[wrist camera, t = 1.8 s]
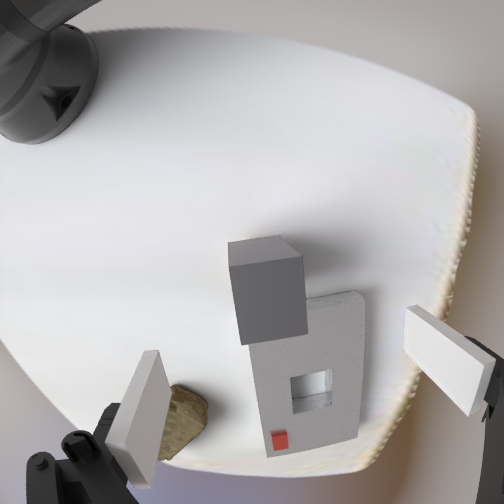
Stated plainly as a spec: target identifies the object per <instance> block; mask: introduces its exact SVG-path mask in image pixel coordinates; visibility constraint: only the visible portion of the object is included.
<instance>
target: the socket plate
mask: <svg viewBox="0 0 504 504" xmlns="http://www.w3.org/2000/svg"><path fill="white" fill-rule="evenodd" d="M306 307H307V322H308V334H306V335H301V336H296V337H290V338H284V339H279V340H273V341H267V342H260V343H254V344H248V345H249V351H250V357H251V364H252V370H253V376H254V382H255V388H256V394H257V400H258V406H259V412H260V418H261V424H262V430H263V436H264V442H265V447H266V453H267V458H268V457H274V456H280V455H286V454H291V453H296V452H301V451H306V450H311V449H315V448H320V447H324V446H328V445H332V444H336V443H339V442H343V441H347V440H350V439H354V438H357V436H358V428H359V419H360V409H361V398H362V386H363V371H364V352H365V316H366V299H365V298H364V297H362V296H361V295H360V294H359V293H358V292H356V291H355V290H354V291H349V292H344V293H339V294H333V295H328V296H322V297H317V298H311V299H306ZM320 371H325V377H326V392H325V393H321V394H316V395H312V396H307V397H302V398H297V399H292V395H291V383H290V377H296V376H301V375H306V374H311V373H315V372H320Z"/></svg>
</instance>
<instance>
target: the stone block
mask: <svg viewBox="0 0 504 504" xmlns="http://www.w3.org/2000/svg"><path fill="white" fill-rule="evenodd" d="M170 389H171V392H172V394H171V399H170V403H169V407H168V412H167V416H166V421H165V425H164V430H163V434H162V439H161V444H160V448H159V453H158V458H157V460H159V461H161V460H165V459H167V460H171V459H172V458H173V457H174V456H175V455H176V454H177V453H178V452H180V451H181V450H182V449H183V448H184V447H185V446H186V445H187V444H188V443H189V442H190V441H192V440H193V439H194V438H196V437H197V436H198V435H199V434H200V432H201V431H202V430H204V429H205V426H206V425H207V409H208V405H207V403H206V402H205V401H204V400H203V399H202V398H201V397H200V396H199V395H197V394H195V393H193V392H191V391H186V390H184V389H182V388H180V387H179V386H178V385H173V386H171V387H170Z"/></svg>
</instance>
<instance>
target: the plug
mask: <svg viewBox="0 0 504 504" xmlns="http://www.w3.org/2000/svg"><path fill="white" fill-rule="evenodd" d="M228 262H229V272H230V279H231V285H232V291H233V298H234V304H235V310H236V316H237V322H238V328H239V335H240V340H241V345H247V344H254V343H260V342H267V341H273V340H279V339H284V338H290V337H296V336H301V335H306V334H308V322H307V307H306V294H305V282H304V270H303V259H302V255H301V254H300V253H298V252H297V251H296V250H295V249H294V248H293V247H292V246H291V245H290V244H289V243H288V242H287V241H286V240H284V239H283V238H282V237H281V236H280V235H278V236H271V237H264V238H257V239H250V240H243V241H236V242H229V243H228Z"/></svg>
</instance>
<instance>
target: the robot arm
mask: <svg viewBox="0 0 504 504" xmlns="http://www.w3.org/2000/svg"><path fill="white" fill-rule="evenodd" d="M100 1H101V0H0V133H1V134H2V135H3V136H4V137H5V138H7V139H8V140H11V141H13V142H17V143H24V144H38V143H42V142H45V141H47V140H49V139H51V138H53V137H55V136H56V135H58V134H59V133H61V132H62V131H63V130H64V129H66V128H67V127H68V126H69V125H70V124H71V123H72V122H73V121H74V119H75V118H76V117H77V116H78V115H79V113H80V112H81V110H82V109H83V107H84V106H85V104H86V102H87V101H88V99H89V97H90V95H91V92H92V90H93V87H94V84H95V81H96V77H97V71H98V56H97V51H96V48H95V46H94V44H93V42H92V41H91V40H90V39H89V37H88V36H87V35H86V34H85V33H84V32H83V31H81V30H80V29H78V28H77V27H75V26H72V25H69V24H64V23H65V22H67V21H68V20H70V19H71V18H73V17H74V16H76V15H78V14H79V13H81V12H82V11H84V10H86V9H87V8H89V7H91V6H92V5H94V4H96V3H98V2H100ZM403 351H404V352H405V353H406V354H407V355H408V356H409V357H410V358H411V359H412V360H413V361H414V362H415V363H416V364H417V365H418V366H419V367H420V368H421V369H422V370H423V371H424V372H425V373H426V374H427V375H428V376H429V377H430V378H431V379H432V380H433V381H434V382H435V383H436V384H437V385H438V386H439V387H440V388H441V389H442V390H443V391H444V392H445V393H446V394H447V395H448V396H449V397H450V398H451V399H452V400H453V402H454V403H455V404H456V405H457V406H458V407H460V409H461V410H462V411H463V412H464V413H465V414H466V415H467V416H470V415H472V414H474V413H476V412H477V411H479V410H480V409H481V406H482V403H483V400H485V401H486V402H487V403H488V405H487V408H486V411H485V413H484V416H483V418H482V422H484V419H485V418H486V426H485V441H484V451H483V461H482V469H481V476H480V482H479V488H478V493H477V499H476V504H504V359H502V358H501V357H500V356H498V355H497V354H496V353H494V352H493V351H491V350H490V349H489V348H486V346H484V345H483V344H481V343H480V342H478V341H477V340H476V339H473V338H471V337H468V336H462V335H461V334H459V333H458V332H457V331H455V330H454V329H452V328H451V327H449V326H448V325H446V324H445V323H444V322H442V321H441V320H439V319H438V318H436V317H435V316H433V315H432V314H430V313H429V312H427V311H426V310H424V309H423V308H421V307H420V306H418V305H414V306H411V307H407V308H406V317H405V331H404V343H403ZM171 394H172V392H171V389H170V386H169V383H168V380H167V377H166V373H165V370H164V367H163V364H162V360H161V357H160V354H159V350H153V351H144V353H143V355H142V357H141V360H140V362H139V364H138V366H137V368H136V371H135V373H134V375H133V377H132V380H131V382H130V384H129V386H128V389H127V391H126V393H125V395H124V398H123V400H122V402H121V403H111V404H110V405H109V406H108V407H107V408H106V409H105V410H104V412H103V414H102V416H101V419H100V420H99V422H98V426H97V427H96V429H95V431H94V433H93V435H92V434H91V433H90V432H87V431H84V430H78V431H74V432H71V433H70V434H68V435H67V436H66V437H65V438H64V439H63V441H62V443H61V446H62V449H63V451H64V452H65V454H66V455H67V457H68V458H69V459H64V460H55V458H54V457H53V456H52V455H51V454H50V453H47V452H39V453H36V454H34V455H32V456H31V457H30V458H29V460H28V462H27V471H26V492H27V493H26V496H27V504H139V503H138V502H137V500H136V499H135V498H134V497H133V495H132V494H131V493H130V491H129V490H128V489H127V487H126V484H127V481H128V480H129V482H130V483H131V485H132V486H133V487H136V488H152V483H153V478H154V472H155V468H156V463H157V458H158V453H159V448H160V444H161V439H162V434H163V430H164V425H165V421H166V416H167V412H168V407H169V403H170V399H171Z"/></svg>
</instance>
